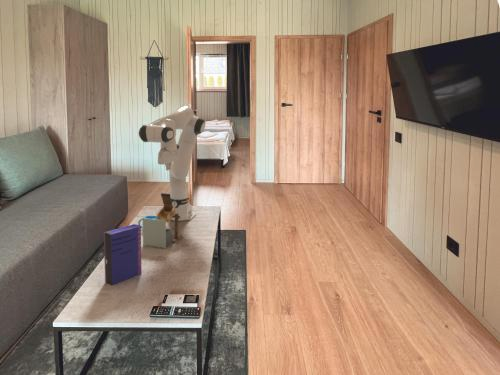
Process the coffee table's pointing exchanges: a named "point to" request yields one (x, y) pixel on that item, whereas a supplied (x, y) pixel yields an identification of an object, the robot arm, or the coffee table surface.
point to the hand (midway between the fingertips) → (168, 170)
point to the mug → (148, 218)
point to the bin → (156, 233)
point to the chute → (166, 209)
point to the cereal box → (122, 253)
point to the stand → (176, 229)
